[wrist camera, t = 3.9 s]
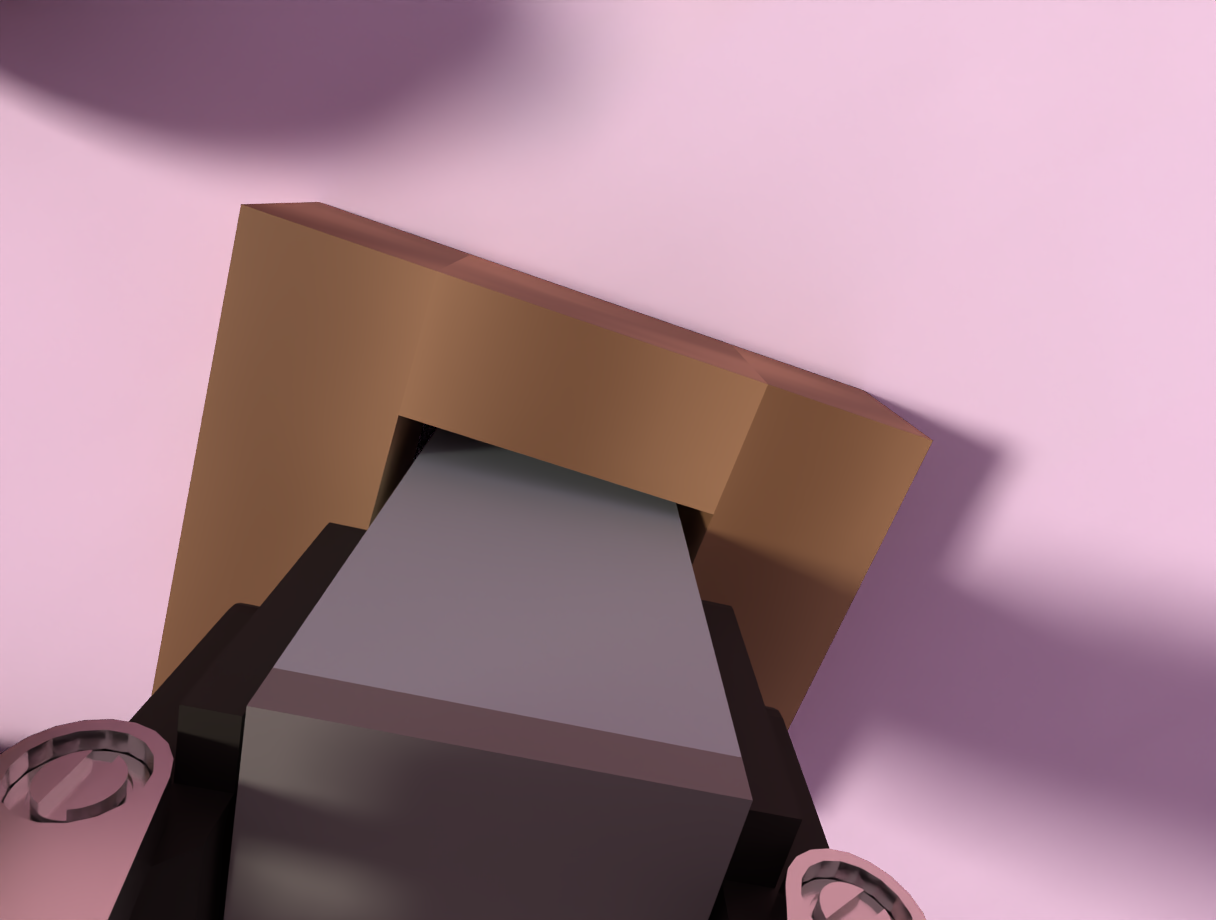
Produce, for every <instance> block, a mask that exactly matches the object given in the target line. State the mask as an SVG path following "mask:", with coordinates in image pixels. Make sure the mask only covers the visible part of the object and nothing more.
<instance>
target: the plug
mask: <svg viewBox="0 0 1216 920" xmlns="http://www.w3.org/2000/svg"><path fill="white" fill-rule="evenodd" d="M752 801H753V799H752V796H751V792H750V788H749V784H748V780H747V776H746V772H745V768H744V765H743V761H742V757H741V753H740V749H739V745H738V741H737V738H736V734H735V730H734V726H733V722H732V718H731V714H730V710H729V707H728V703H727V699H726V695H725V691H724V687H723V683H722V680H721V676H720V672H719V668H718V664H717V660H716V656H715V652H714V649H713V645H712V641H711V637H710V633H709V629H708V625H707V622H706V618H705V614H704V610H703V606H702V602H701V598H700V594H699V591H698V587H697V583H696V579H695V575H694V571H693V567H692V564H691V560H690V556H689V552H688V548H687V544H686V540H685V536H684V533H683V529H682V525H681V521H680V517H679V513H678V509H677V506H676V503H675V502H672V501H669V500H666V499H662V498H659V497H656V496H653V495H650V494H647V493H643V492H640V491H637V490H634V489H631V488H628V487H625V486H621V485H618V484H615V483H612V482H609V481H606V480H602V479H599V478H596V477H593V476H590V475H587V474H583V473H580V472H577V471H574V470H571V469H568V468H564V467H561V466H558V465H555V464H552V463H549V462H545V461H542V460H539V459H536V458H533V457H530V456H526V455H523V454H520V453H517V452H514V451H511V450H507V449H504V448H501V447H498V446H495V445H492V444H488V443H485V442H482V441H479V440H476V439H473V438H469V437H466V436H463V435H460V434H457V433H454V432H450V431H447V430H444V429H441V428H437V429H436V431H435V432H434V434H433V435H432V437H431V438H430V439H429V441H428V442H427V444H426V445H425V447H424V448H423V450H422V451H421V453H420V454H419V455H418V457H417V458H416V460H415V461H414V463H413V464H412V466H411V467H410V469H409V470H408V471H407V473H406V474H405V476H404V477H403V479H402V480H401V482H400V483H399V485H398V486H397V488H396V489H395V490H394V492H393V493H392V495H391V496H390V498H389V499H388V501H387V502H386V504H385V505H384V506H383V508H382V509H381V511H380V512H379V514H378V515H377V517H376V518H375V520H374V521H373V522H372V524H371V525H370V527H369V528H368V530H367V531H366V533H365V534H364V536H363V537H362V539H361V540H360V541H359V543H358V544H357V546H356V547H355V549H354V550H353V552H352V553H351V555H350V556H349V557H348V559H347V560H346V562H345V563H344V565H343V566H342V568H341V569H340V571H339V572H338V573H337V575H336V576H335V578H334V579H333V581H332V582H331V584H330V585H329V587H328V588H327V590H326V591H325V592H324V594H323V595H322V597H321V598H320V600H319V601H318V603H317V604H316V606H315V607H314V608H313V610H312V611H311V613H310V614H309V616H308V617H307V619H306V620H305V622H304V623H303V624H302V626H301V627H300V629H299V630H298V632H297V633H296V635H295V636H294V638H293V639H292V641H291V642H290V643H289V645H288V646H287V648H286V649H285V651H284V652H283V654H282V655H281V657H280V658H279V659H278V661H277V662H276V664H275V665H274V667H273V668H272V670H271V671H270V673H269V674H268V676H267V677H266V678H265V680H264V681H263V683H262V684H261V686H260V687H259V689H258V690H257V692H256V693H255V694H254V696H253V697H252V699H251V700H250V702H249V703H248V705H247V707H246V717H245V726H244V735H243V744H242V754H241V763H240V772H239V781H238V791H237V800H236V809H235V818H234V828H233V837H232V846H231V855H230V865H229V874H228V883H227V892H226V902H225V911H224V920H708V919H709V916H710V913H711V911H712V908H713V905H714V903H715V900H716V897H717V895H718V892H719V889H720V887H721V884H722V881H723V879H724V876H725V873H726V871H727V868H728V865H729V863H730V860H731V857H732V855H733V852H734V849H735V847H736V844H737V841H738V839H739V836H740V833H741V831H742V828H743V825H744V822H745V820H746V817H747V814H748V812H749V809H750V806H751V804H752Z"/></svg>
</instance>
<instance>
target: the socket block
mask: <svg viewBox="0 0 1216 920" xmlns="http://www.w3.org/2000/svg"><path fill="white" fill-rule="evenodd" d="M424 423H425V424H428V425H431V426H435V427H438V428H441V429H444V430H447V431H450V432H454V433H457V434H460V435H463V436H466V437H469V438H473V439H476V440H479V441H482V442H485V443H488V444H492V445H495V446H498V447H501V448H504V449H507V450H511V451H514V452H517V453H520V454H523V455H526V456H530V457H533V458H536V459H539V460H542V461H545V462H549V463H552V464H555V465H558V466H561V467H564V468H568V469H571V470H574V471H577V472H580V473H583V474H587V475H590V476H593V477H596V478H599V479H602V480H606V481H609V482H612V483H615V484H618V485H621V486H625V487H628V488H631V489H634V490H637V491H640V492H643V493H647V494H650V495H653V496H656V497H659V498H662V499H666V500H669V501H672V502H675V503H676V506H677V509H678V513H679V517H680V521H681V525H682V529H683V533H684V536H685V540H686V544H687V548H688V552H689V556H690V560H691V564H692V567H693V571H694V575H695V579H696V583H697V587H698V591H699V594H700V598H701V600H705V601H710V602H715V603H720V604H725V605H729V606H732V608H733V610H734V613H735V616H736V619H737V622H738V625H739V628H740V631H741V634H742V637H743V640H744V643H745V646H746V649H747V652H748V656H749V659H750V662H751V665H752V668H753V671H754V674H755V677H756V680H757V683H758V686H759V689H760V692H761V695H762V698H763V701H764V704H765V706H768V707H773V708H775V709H777V710H779V712H780V713H781V715H782V717H783V719H784V722H785V725H786V728H787V731H788V729H789V727H790V725H791V723H792V721H793V719H794V717H795V715H796V713H797V711H798V709H799V707H800V705H801V703H802V701H803V699H804V697H805V695H806V693H807V691H808V689H809V687H810V685H811V683H812V681H813V679H814V677H815V675H816V673H817V671H818V669H819V667H820V665H821V663H822V661H823V659H824V657H825V655H826V653H827V651H828V649H829V647H830V645H831V643H832V641H833V639H834V637H835V635H836V633H837V631H838V629H839V627H840V625H841V623H842V621H843V619H844V617H845V615H846V613H847V611H848V609H849V607H850V605H851V603H852V601H853V599H854V597H855V595H856V593H857V591H858V589H859V587H860V585H861V583H862V581H863V579H864V577H865V575H866V573H867V571H868V569H869V567H870V565H871V563H872V561H873V559H874V557H875V555H876V553H877V551H878V549H879V547H880V545H881V543H882V541H883V539H884V537H885V535H886V533H887V531H888V529H889V527H890V525H891V523H892V521H893V519H894V517H895V515H896V513H897V511H898V509H899V507H900V505H901V503H902V501H903V499H904V497H905V495H906V493H907V491H908V489H909V487H910V485H911V483H912V481H913V479H914V477H915V475H916V473H917V471H918V469H919V467H920V465H921V463H922V461H923V459H924V457H925V455H926V453H927V451H928V449H929V447H930V445H931V443H932V441H933V440H931V439H930V438H929V437H927V436H926V435H924V434H923V433H922V432H920V431H919V430H918V429H916V428H915V427H913V426H912V425H911V424H909V423H908V422H907V421H905V420H904V419H902V418H901V417H900V416H898V415H897V414H896V413H894V412H893V411H891V410H890V409H889V408H887V407H886V406H884V405H883V404H882V403H880V402H879V401H878V400H876V399H875V398H873V397H872V396H871V395H869V394H868V393H867V392H865V391H863V390H861V389H858V388H855V387H852V386H849V385H846V384H843V383H840V382H837V381H835V380H832V379H829V378H826V377H823V376H820V375H817V374H814V373H811V372H809V371H806V370H803V369H800V368H797V367H794V366H791V365H788V364H785V363H783V362H780V361H777V360H774V359H771V358H768V357H765V356H762V355H759V354H757V353H754V352H751V351H748V350H745V349H742V348H739V347H736V346H733V345H731V344H728V343H725V342H722V341H719V340H716V339H713V338H710V337H707V336H705V335H702V334H699V333H696V332H693V331H690V330H687V329H684V328H681V327H679V326H676V325H673V324H670V323H667V322H664V321H661V320H658V319H655V318H653V317H650V316H647V315H644V314H641V313H638V312H635V311H632V310H629V309H627V308H624V307H621V306H618V305H615V304H612V303H609V302H606V301H603V300H601V299H598V298H595V297H592V296H589V295H586V294H583V293H580V292H577V291H575V290H572V289H569V288H566V287H563V286H560V285H557V284H554V283H551V282H549V281H546V280H543V279H540V278H537V277H534V276H531V275H528V274H525V273H523V272H520V271H517V270H514V269H511V268H508V267H505V266H502V265H499V264H497V263H494V262H491V261H488V260H485V259H482V258H479V257H476V256H473V255H471V254H468V253H465V252H462V251H459V250H456V249H453V248H450V247H447V246H445V245H442V244H439V243H436V242H433V241H430V240H427V239H424V238H421V237H419V236H416V235H413V234H410V233H407V232H404V231H401V230H398V229H395V228H393V227H390V226H387V225H384V224H381V223H378V222H375V221H372V220H369V219H367V218H364V217H361V216H358V215H355V214H352V213H349V212H346V211H343V210H341V209H338V208H335V207H332V206H329V205H326V204H323V203H320V202H304V203H271V204H241V208H240V213H239V219H238V224H237V230H236V235H235V241H234V246H233V252H232V257H231V263H230V268H229V274H228V279H227V285H226V290H225V296H224V301H223V307H222V312H221V318H220V323H219V329H218V334H217V340H216V345H215V350H214V356H213V361H212V367H211V372H210V378H209V383H208V389H207V394H206V400H205V405H204V411H203V416H202V422H201V427H200V433H199V438H198V444H197V449H196V455H195V460H194V466H193V471H192V477H191V482H190V488H189V493H188V498H187V504H186V509H185V515H184V520H183V526H182V531H181V537H180V542H179V548H178V553H177V559H176V564H175V570H174V575H173V581H172V586H171V592H170V597H169V603H168V608H167V614H166V619H165V625H164V630H163V635H162V641H161V646H160V652H159V657H158V663H157V668H156V674H155V679H154V685H153V690H152V695H153V694H154V693H155V692H156V690H157V689H158V688H159V687H160V686H161V685H162V684H163V683H164V681H165V680H166V679H167V678H168V677H169V676H170V675H171V674H172V672H173V671H174V670H175V669H176V668H177V667H178V666H179V665H180V663H181V662H182V661H183V660H184V659H185V658H186V657H187V656H188V654H189V653H190V652H191V651H192V650H193V649H194V648H195V647H196V645H197V644H198V643H199V642H200V641H201V640H202V639H203V638H204V636H205V635H206V634H207V633H208V632H209V631H210V630H211V629H212V627H213V626H214V625H215V624H216V623H217V622H218V621H219V620H220V618H221V617H222V616H223V615H224V614H225V613H226V612H227V611H228V609H230V608H231V607H232V606H233V605H234V604H236V603H245V604H250V605H255V606H261V604H262V603H263V602H264V601H265V600H266V598H267V597H268V596H269V595H270V594H271V592H272V591H273V590H274V589H275V587H276V586H277V585H278V584H279V583H280V581H281V580H282V579H283V578H284V576H285V575H286V574H287V573H288V572H289V570H290V569H291V568H292V567H293V565H294V564H295V563H296V562H297V561H298V559H299V558H300V557H301V556H302V554H303V553H304V552H305V551H306V550H307V548H308V547H309V546H310V545H311V543H312V542H313V541H314V540H315V539H316V537H317V536H318V535H319V534H320V532H321V531H322V530H323V529H324V528H325V526H326V525H327V524H328V523H330V522H331V523H336V524H341V525H346V526H350V527H355V528H360V529H365V530H368V528H369V527H370V525H371V524H372V522H373V521H374V520H375V518H376V517H377V515H378V514H379V512H380V511H381V509H382V508H383V506H384V505H385V504H386V502H387V501H388V499H389V498H390V496H391V495H392V493H393V492H394V490H395V489H396V488H397V486H398V485H399V483H400V482H401V480H402V479H403V477H404V476H405V474H406V473H407V471H408V470H409V469H410V467H411V466H412V463H413V460H414V456H415V453H416V449H417V445H418V442H419V438H420V435H421V431H422V427H423V424H424Z"/></svg>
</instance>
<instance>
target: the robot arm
mask: <svg viewBox="0 0 1216 920" xmlns="http://www.w3.org/2000/svg"><path fill="white" fill-rule="evenodd" d="M366 531H367V530H365V529H360V528H355V527H350V526H346V525H341V524H336V523H331V522H330V523H328V524H327V525H326V526H325V528H324V529H323V530H322V531H321V532H320V534H319V535H318V536H317V537H316V539H315V540H314V541H313V542H312V543H311V545H310V546H309V547H308V548H307V550H306V551H305V552H304V553H303V554H302V556H301V557H300V558H299V559H298V561H297V562H296V563H295V564H294V565H293V567H292V568H291V569H290V570H289V572H288V573H287V574H286V575H285V576H284V578H283V579H282V580H281V581H280V583H279V584H278V585H277V586H276V587H275V589H274V590H273V591H272V592H271V594H270V595H269V596H268V597H267V598H266V600H265V601H264V602H263V603H262V604H261V606H255V605H250V604H245V603H236V604H234V605H233V606H232V607H231V608H230V609H228V611H227V612H226V613H225V614H224V615H223V616H222V617H221V618H220V620H219V621H218V622H217V623H216V624H215V625H214V626H213V627H212V629H211V630H210V631H209V632H208V633H207V634H206V635H205V636H204V638H203V639H202V640H201V641H200V642H199V643H198V644H197V645H196V647H195V648H194V649H193V650H192V651H191V652H190V653H189V654H188V656H187V657H186V658H185V659H184V660H183V661H182V662H181V663H180V665H179V666H178V667H177V668H176V669H175V670H174V671H173V672H172V674H171V675H170V676H169V677H168V678H167V679H166V680H165V681H164V683H163V684H162V685H161V686H160V687H159V688H158V689H157V690H156V692H155V693H154V694H153V695H152V696H151V697H150V698H149V699H148V701H147V702H146V703H145V704H144V705H143V706H142V707H141V708H140V710H139V711H138V712H137V713H136V714H135V715H134V716H133V717H132V719H131V720H130V721H129V722H128V721H121V720H115V719H100V720H82V721H78V722H73V723H68V724H63V725H58V726H55V727H52V728H49V729H47V730H44V731H42V732H39V733H36V734H34V735H31V736H29V737H27V738H25V739H23V740H22V741H20V742H19V743H17V744H15V745H14V746H12V747H10V748H9V749H7V750H6V751H4V752H3V753H2V754H1V755H0V920H224V911H225V902H226V892H227V883H228V874H229V865H230V855H231V846H232V837H233V828H234V818H235V809H236V800H237V791H238V781H239V772H240V763H241V754H242V744H243V735H244V726H245V717H246V707H247V705H248V703H249V702H250V700H251V699H252V697H253V696H254V694H255V693H256V692H257V690H258V689H259V687H260V686H261V684H262V683H263V681H264V680H265V678H266V677H267V676H268V674H269V673H270V671H271V670H272V668H273V667H274V665H275V664H276V662H277V661H278V659H279V658H280V657H281V655H282V654H283V652H284V651H285V649H286V648H287V646H288V645H289V643H290V642H291V641H292V639H293V638H294V636H295V635H296V633H297V632H298V630H299V629H300V627H301V626H302V624H303V623H304V622H305V620H306V619H307V617H308V616H309V614H310V613H311V611H312V610H313V608H314V607H315V606H316V604H317V603H318V601H319V600H320V598H321V597H322V595H323V594H324V592H325V591H326V590H327V588H328V587H329V585H330V584H331V582H332V581H333V579H334V578H335V576H336V575H337V573H338V572H339V571H340V569H341V568H342V566H343V565H344V563H345V562H346V560H347V559H348V557H349V556H350V555H351V553H352V552H353V550H354V549H355V547H356V546H357V544H358V543H359V541H360V540H361V539H362V537H363V536H364V534H365V533H366ZM701 602H702V606H703V610H704V614H705V618H706V622H707V625H708V629H709V633H710V637H711V641H712V645H713V649H714V652H715V656H716V660H717V664H718V668H719V672H720V676H721V680H722V683H723V687H724V691H725V695H726V699H727V703H728V707H729V710H730V714H731V718H732V722H733V726H734V730H735V734H736V738H737V741H738V745H739V749H740V753H741V757H742V761H743V765H744V768H745V772H746V776H747V780H748V784H749V788H750V792H751V796H752V799H753V801H752V804H751V806H750V809H749V812H748V814H747V817H746V820H745V822H744V825H743V828H742V831H741V833H740V836H739V839H738V841H737V844H736V847H735V849H734V852H733V855H732V857H731V860H730V863H729V865H728V868H727V871H726V873H725V876H724V879H723V881H722V884H721V887H720V889H719V892H718V895H717V897H716V900H715V903H714V905H713V908H712V911H711V913H710V916H709V919H708V920H926V918H925V916H924V913H923V912H922V911H921V909H920V908H919V906H918V905H917V904H916V902H915V901H914V899H913V898H912V897H911V895H910V894H909V893H908V892H907V891H906V890H905V889H904V888H903V887H902V886H901V885H900V884H899V883H898V882H897V881H896V880H895V879H894V878H892V877H891V876H890V875H889V874H887V873H886V872H884V871H883V870H881V869H880V868H878V867H877V866H875V865H874V864H872V863H871V862H869V861H867V860H864V859H862V858H860V857H857V856H855V855H853V854H851V853H848V852H843V851H838V850H833V849H829V846H828V843H827V840H826V838H825V835H824V832H823V829H822V826H821V823H820V821H819V818H818V815H817V812H816V809H815V807H814V804H813V801H812V798H811V795H810V793H809V790H808V787H807V784H806V781H805V778H804V776H803V773H802V770H801V767H800V764H799V762H798V759H797V756H796V753H795V750H794V748H793V745H792V742H791V739H790V736H789V734H788V731H787V728H786V725H785V722H784V719H783V717H782V715H781V713H780V712H779V710H777V709H775V708H773V707H768V706H765V704H764V701H763V698H762V695H761V692H760V689H759V686H758V683H757V680H756V677H755V674H754V671H753V668H752V665H751V662H750V659H749V656H748V652H747V649H746V646H745V643H744V640H743V637H742V634H741V631H740V628H739V625H738V622H737V619H736V616H735V613H734V610H733V608H732V606H729V605H725V604H720V603H715V602H710V601H705V600H701Z"/></svg>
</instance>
